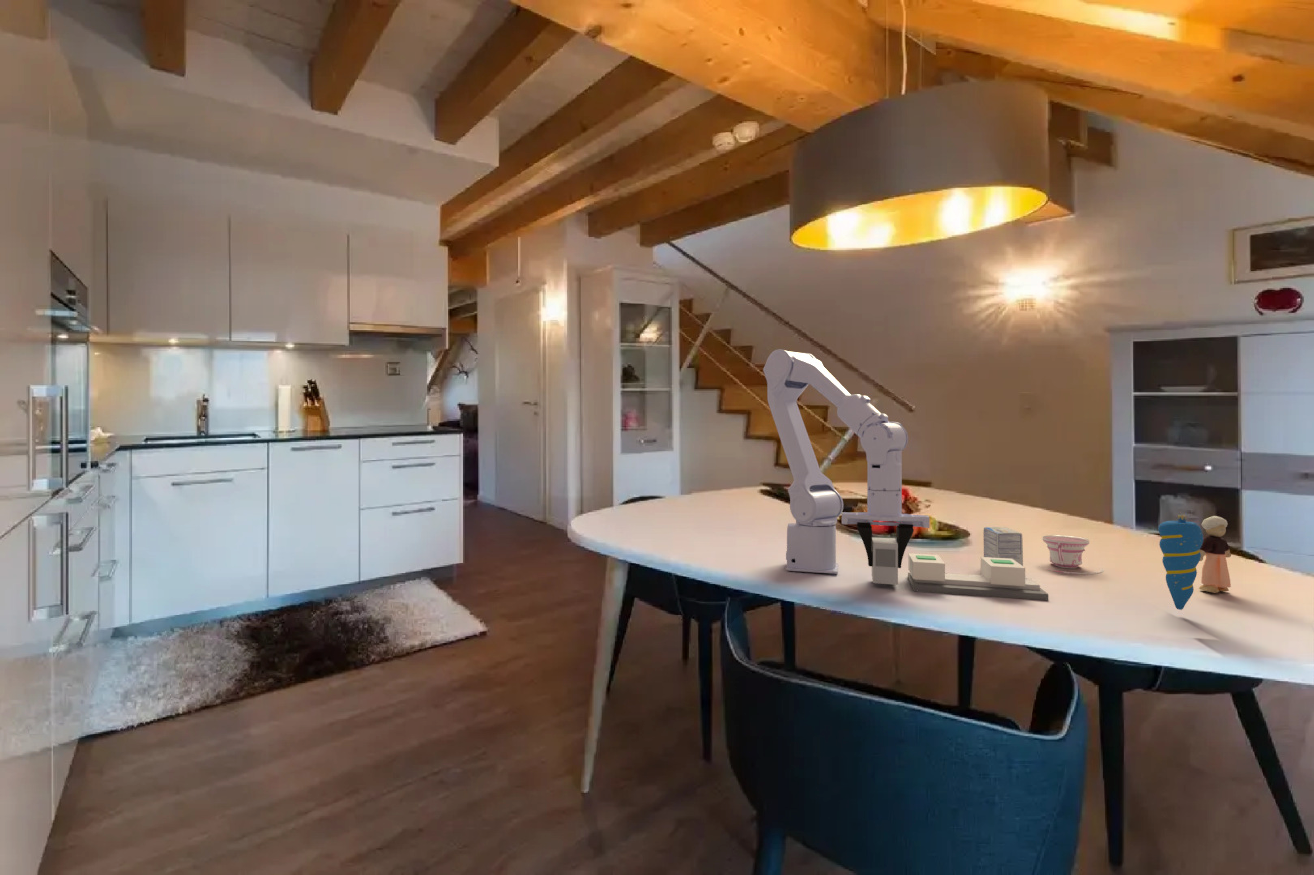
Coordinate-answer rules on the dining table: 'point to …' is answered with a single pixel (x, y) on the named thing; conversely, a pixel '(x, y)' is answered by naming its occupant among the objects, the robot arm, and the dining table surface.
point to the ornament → (1180, 557)
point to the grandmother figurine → (1215, 556)
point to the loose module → (885, 560)
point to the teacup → (1066, 551)
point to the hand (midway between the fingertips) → (884, 566)
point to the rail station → (973, 578)
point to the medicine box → (1003, 543)
